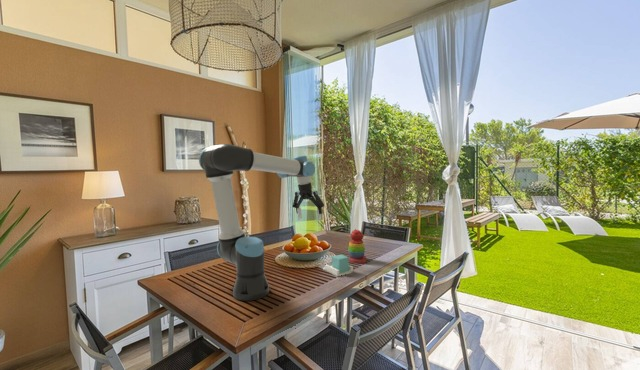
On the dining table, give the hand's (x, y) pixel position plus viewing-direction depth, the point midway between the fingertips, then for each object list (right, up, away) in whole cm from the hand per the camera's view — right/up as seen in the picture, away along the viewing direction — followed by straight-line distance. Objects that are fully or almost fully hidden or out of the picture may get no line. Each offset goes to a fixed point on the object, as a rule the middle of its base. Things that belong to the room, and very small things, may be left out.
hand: (310, 219), depth 164 cm
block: (+16, -25, -19) cm, 35 cm away
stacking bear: (+27, -24, -1) cm, 36 cm away
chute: (+13, -25, -14) cm, 31 cm away
